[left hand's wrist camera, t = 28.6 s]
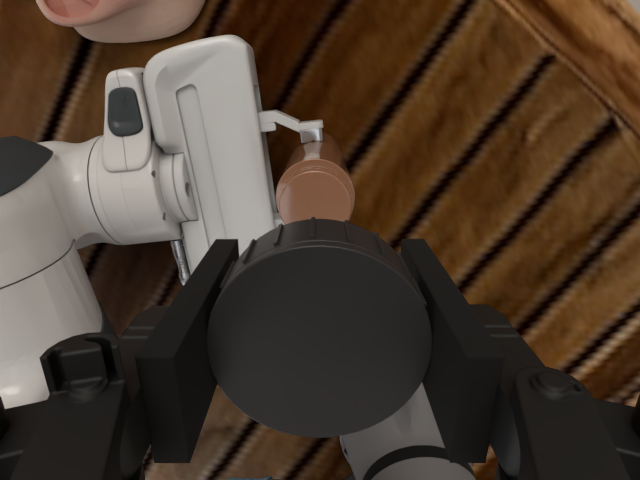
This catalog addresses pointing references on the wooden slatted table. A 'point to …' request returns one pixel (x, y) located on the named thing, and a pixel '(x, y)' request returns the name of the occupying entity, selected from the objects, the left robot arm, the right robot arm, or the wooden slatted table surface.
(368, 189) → the wooden slatted table surface
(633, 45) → the wooden slatted table surface
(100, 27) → the anatomical model
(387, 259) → the lid
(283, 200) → the jar
